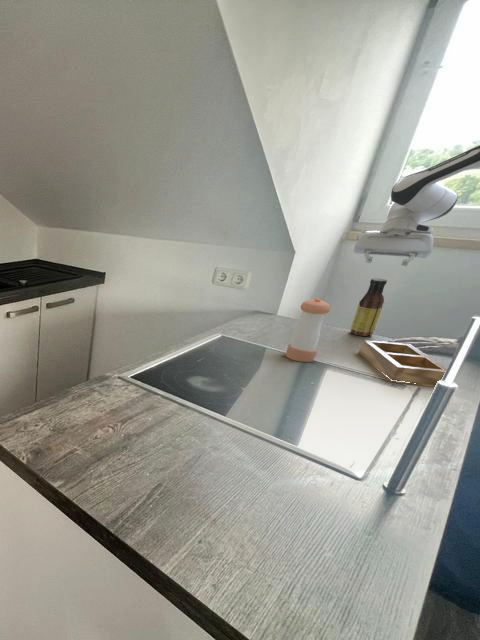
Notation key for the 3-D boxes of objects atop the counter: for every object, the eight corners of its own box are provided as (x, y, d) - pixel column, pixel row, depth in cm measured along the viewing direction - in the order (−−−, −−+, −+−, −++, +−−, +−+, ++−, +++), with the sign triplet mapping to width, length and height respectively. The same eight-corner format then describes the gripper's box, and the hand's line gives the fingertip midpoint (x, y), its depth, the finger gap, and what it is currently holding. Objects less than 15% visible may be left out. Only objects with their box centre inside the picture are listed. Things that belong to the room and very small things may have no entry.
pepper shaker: (300, 352, 126) (318, 294, 118) (319, 361, 120) (340, 300, 112) (279, 353, 125) (296, 296, 118) (298, 362, 119) (317, 302, 111)
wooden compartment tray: (404, 357, 121) (410, 343, 119) (446, 388, 102) (454, 372, 100) (358, 353, 124) (363, 339, 123) (391, 382, 106) (397, 366, 104)
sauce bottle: (363, 331, 142) (383, 277, 134) (376, 337, 137) (398, 281, 129) (344, 331, 143) (363, 277, 135) (356, 337, 137) (377, 281, 129)
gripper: (361, 225, 145) (349, 255, 143) (440, 227, 132) (429, 260, 130) (357, 236, 150) (346, 265, 147) (433, 240, 137) (423, 272, 134)
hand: (386, 263), depth 138 cm, fingers open, 8 cm apart
